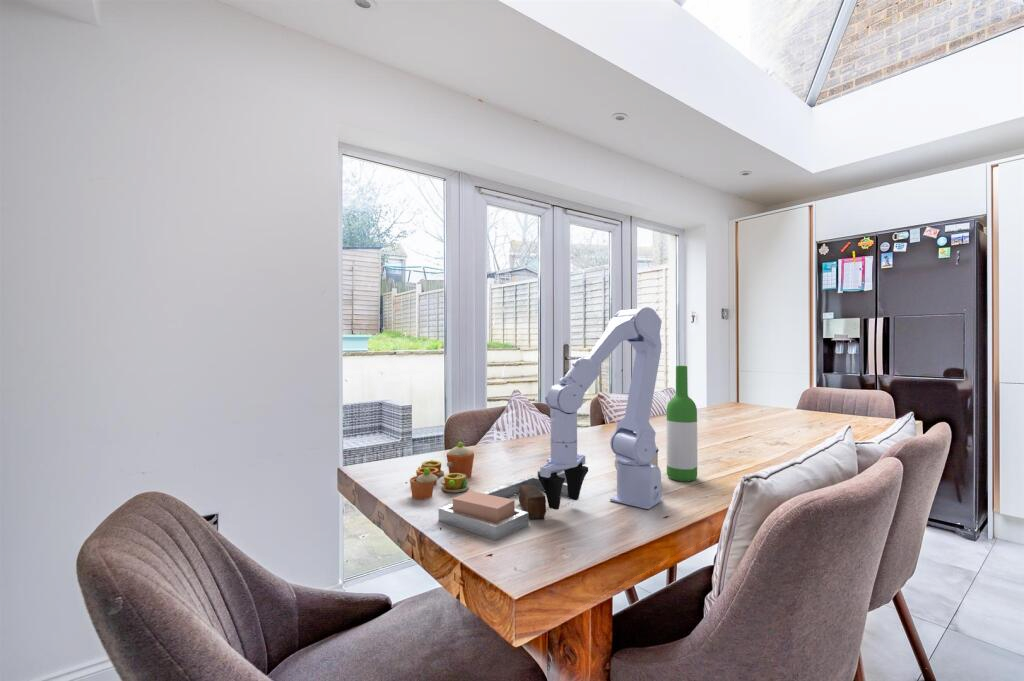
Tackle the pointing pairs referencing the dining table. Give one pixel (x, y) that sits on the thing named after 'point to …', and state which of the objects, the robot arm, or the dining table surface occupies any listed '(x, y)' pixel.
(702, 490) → the dining table surface
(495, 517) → the twin block
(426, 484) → the toy tea set
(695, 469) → the wine bottle
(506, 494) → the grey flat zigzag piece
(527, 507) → the brick
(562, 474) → the console
